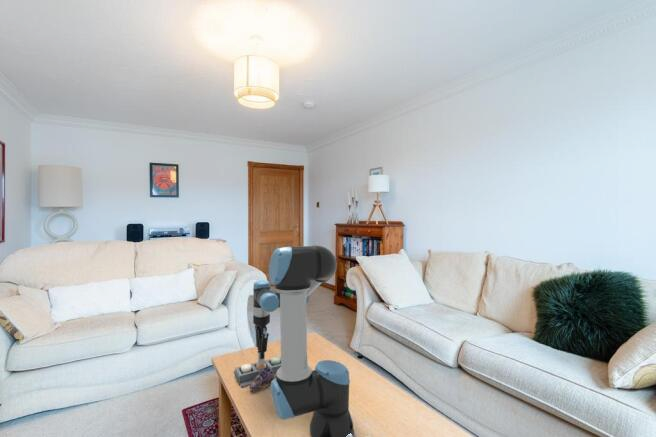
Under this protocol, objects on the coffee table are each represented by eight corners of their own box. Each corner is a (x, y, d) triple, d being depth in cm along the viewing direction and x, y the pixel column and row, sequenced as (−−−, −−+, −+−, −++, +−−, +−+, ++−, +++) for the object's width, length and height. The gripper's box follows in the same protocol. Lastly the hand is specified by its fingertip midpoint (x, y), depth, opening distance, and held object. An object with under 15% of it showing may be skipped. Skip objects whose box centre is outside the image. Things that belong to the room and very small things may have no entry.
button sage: (281, 364, 144) (281, 359, 144) (272, 367, 142) (272, 362, 142) (278, 360, 148) (278, 355, 148) (269, 362, 146) (269, 358, 146)
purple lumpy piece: (254, 396, 125) (254, 382, 124) (243, 386, 130) (244, 373, 129) (277, 382, 134) (277, 370, 133) (266, 374, 139) (267, 362, 138)
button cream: (252, 372, 137) (252, 367, 137) (242, 375, 135) (242, 369, 135) (249, 368, 141) (249, 363, 141) (240, 370, 139) (240, 365, 139)
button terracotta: (267, 371, 141) (267, 366, 141) (258, 373, 138) (258, 368, 138) (264, 366, 144) (264, 361, 144) (255, 369, 142) (255, 364, 142)
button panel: (289, 374, 141) (289, 366, 141) (241, 387, 130) (241, 379, 130) (278, 360, 153) (278, 353, 153) (233, 372, 142) (233, 364, 142)
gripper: (274, 317, 137) (273, 369, 138) (264, 308, 148) (264, 356, 149) (257, 320, 133) (257, 373, 134) (249, 311, 144) (249, 360, 145)
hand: (261, 364), depth 141 cm, fingers closed
